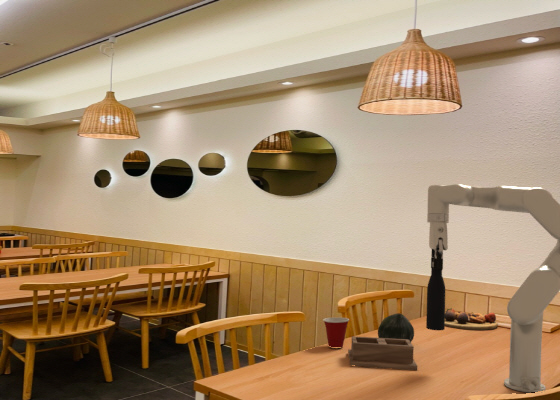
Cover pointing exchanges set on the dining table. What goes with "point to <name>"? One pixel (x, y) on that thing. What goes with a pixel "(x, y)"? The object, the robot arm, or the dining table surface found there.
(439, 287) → the wine bottle
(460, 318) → the wooden plate with food
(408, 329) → the squash
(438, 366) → the dining table surface
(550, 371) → the dining table surface
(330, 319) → the plastic cup
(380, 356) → the bottle rack
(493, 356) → the dining table surface
